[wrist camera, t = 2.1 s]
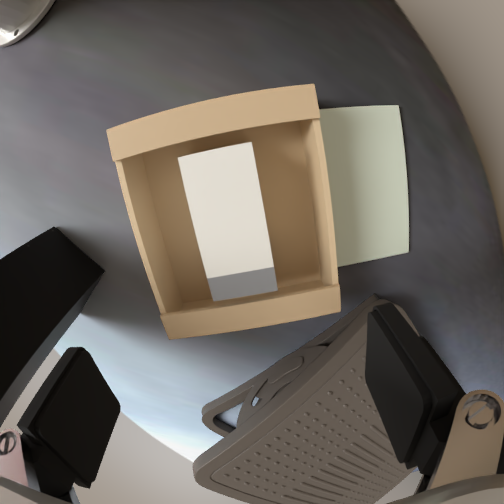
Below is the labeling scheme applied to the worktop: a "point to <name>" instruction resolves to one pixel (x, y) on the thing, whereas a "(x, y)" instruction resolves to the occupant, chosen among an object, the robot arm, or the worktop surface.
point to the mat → (366, 181)
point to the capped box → (229, 220)
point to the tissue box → (38, 306)
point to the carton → (273, 196)
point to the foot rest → (306, 427)
